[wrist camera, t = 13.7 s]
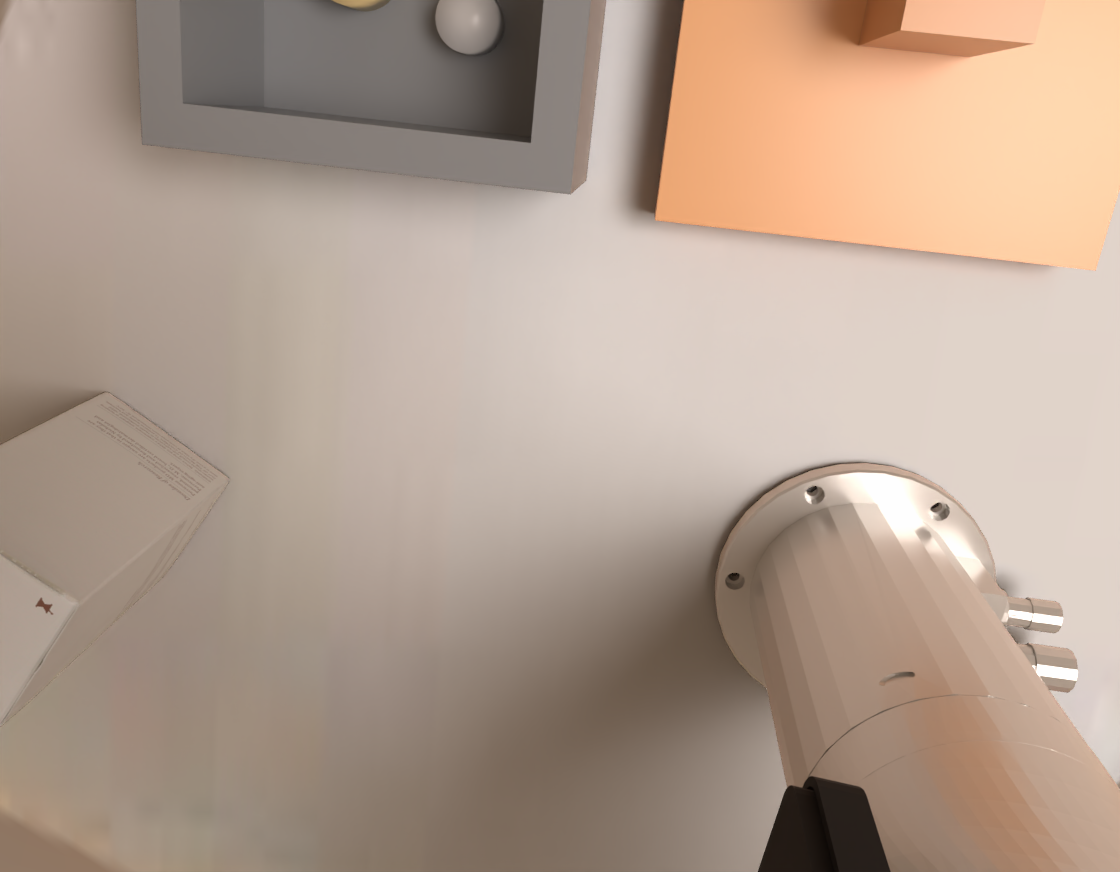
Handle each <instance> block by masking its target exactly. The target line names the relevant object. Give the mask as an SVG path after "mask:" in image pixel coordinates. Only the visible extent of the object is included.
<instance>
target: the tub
mask: <svg viewBox="0 0 1120 872" xmlns="http://www.w3.org/2000/svg"><path fill="white" fill-rule="evenodd" d="M605 6H606V0H136V16H137V39H138V61H139V84H140V106H141V129H142V144H143V145H151V146H160V147H168V148H177V149H186V150H194V151H203V152H211V153H220V154H229V155H237V156H246V157H254V158H263V159H271V160H280V161H289V162H297V163H306V164H314V165H323V166H332V167H340V168H349V169H357V170H366V171H374V172H383V173H392V174H400V175H409V176H417V177H426V178H435V179H443V180H452V181H460V182H469V183H478V184H486V185H495V186H503V187H512V188H520V189H529V190H538V191H546V192H555V193H563V194H571V193H573V192H574V191H575V190H576V189H577V188H578V187H579V186H580V185H582V184H583V183H584V182H585V181H586V178H587V169H588V160H589V151H590V142H591V133H592V124H593V115H594V105H595V96H596V87H597V78H598V69H599V60H600V51H601V42H602V33H603V24H604V15H605Z"/></svg>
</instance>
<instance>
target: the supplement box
mask: <svg viewBox="0 0 1120 872" xmlns="http://www.w3.org/2000/svg"><path fill="white" fill-rule="evenodd" d="M229 481H230V480H229V478H228V477H226V476H225V475H224V474H223V473H221V472H220V471H219V470H217V469H216V468H214V467H213V466H212V465H210V464H209V463H208V462H206V461H205V460H203V459H202V458H201V457H199V456H198V455H196V454H195V453H194V452H192V451H191V450H189V449H188V448H187V447H186V446H184V445H183V444H181V443H180V442H178V441H177V440H175V439H174V438H173V437H171V436H170V435H169V434H167V433H166V432H165V431H163V430H162V429H160V428H159V427H158V426H156V425H155V424H153V423H152V422H150V421H149V420H148V419H146V418H145V417H144V416H142V415H141V414H139V413H138V412H136V411H135V410H133V409H132V408H131V407H129V406H128V405H127V404H125V403H124V402H122V401H121V400H119V399H118V398H116V397H115V396H113V395H111V394H110V393H107V392H105V393H102V394H100V395H98V396H96V397H94V398H92V399H90V400H88V401H86V402H84V403H81V404H79V405H77V406H75V407H73V408H71V409H70V410H68V411H66V412H64V413H62V414H60V415H58V416H56V417H54V418H52V419H50V420H48V421H46V422H44V423H42V424H40V425H38V426H36V427H34V428H32V429H30V430H28V431H26V432H24V433H22V434H20V435H18V436H16V437H14V438H12V439H10V440H8V441H6V442H4V443H2V444H1V445H0V727H1V726H3V725H4V724H5V723H6V722H7V721H8V720H9V719H10V718H11V717H13V716H14V715H15V714H16V713H17V712H18V711H20V710H21V709H22V708H23V707H24V706H25V705H26V704H27V703H29V702H30V701H31V700H32V699H33V698H34V697H35V696H36V695H37V694H38V693H39V692H41V691H42V690H43V689H44V688H45V687H46V686H47V685H48V684H49V683H50V682H51V681H52V680H53V679H54V678H56V677H57V676H58V675H59V674H60V673H61V672H62V671H63V670H64V669H65V668H66V667H67V666H68V665H69V664H70V663H71V662H72V661H74V660H75V659H76V658H77V657H78V656H79V655H80V654H81V653H82V652H83V651H84V650H85V649H86V648H87V647H89V646H90V645H91V644H92V643H93V642H94V641H95V640H96V639H97V638H98V637H99V636H100V635H101V634H102V633H103V632H105V631H106V630H107V629H108V628H109V627H110V626H111V625H112V624H113V623H114V622H115V621H116V620H117V619H118V618H119V617H120V616H122V615H123V614H124V613H125V612H126V611H127V610H128V609H129V608H130V607H131V606H132V605H133V604H134V603H136V602H137V601H138V600H139V599H140V598H141V597H142V596H143V595H145V594H146V593H147V592H148V591H149V590H150V589H151V588H152V587H153V586H154V585H155V584H157V583H158V582H159V581H160V580H161V579H162V578H163V577H164V576H165V574H166V573H167V572H168V570H169V569H170V568H171V566H172V565H173V563H174V562H175V561H176V559H177V558H178V556H179V555H180V554H181V552H182V551H183V549H184V548H185V546H186V545H187V543H188V542H189V540H190V539H191V538H192V536H193V535H194V533H195V532H196V530H197V529H198V527H199V526H200V524H201V523H202V521H203V520H204V518H205V517H206V515H207V514H208V512H209V511H210V510H211V508H212V507H213V505H214V504H215V502H216V501H217V499H218V498H219V496H220V495H221V493H222V492H223V490H224V489H225V487H226V486H227V484H228V483H229Z"/></svg>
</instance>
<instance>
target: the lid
mask: <svg viewBox="0 0 1120 872" xmlns="http://www.w3.org/2000/svg"><path fill="white" fill-rule="evenodd" d="M1119 190H1120V0H683V7H682V14H681V22H680V29H679V37H678V44H677V52H676V59H675V67H674V74H673V82H672V89H671V97H670V104H669V112H668V119H667V127H666V134H665V141H664V149H663V156H662V164H661V171H660V179H659V186H658V194H657V201H656V209H655V220H657V221H666V222H675V223H684V224H692V225H701V226H710V227H719V228H727V229H736V230H745V231H754V232H762V233H771V234H780V235H789V236H797V237H806V238H815V239H824V240H832V241H841V242H850V243H859V244H867V245H876V246H885V247H894V248H902V249H911V250H920V251H929V252H937V253H946V254H955V255H964V256H972V257H981V258H990V259H999V260H1007V261H1016V262H1025V263H1034V264H1042V265H1051V266H1060V267H1069V268H1077V269H1086V270H1095V271H1096V267H1097V264H1098V260H1099V257H1100V254H1101V250H1102V247H1103V244H1104V240H1105V237H1106V233H1107V230H1108V227H1109V223H1110V220H1111V217H1112V213H1113V210H1114V206H1115V203H1116V200H1117V196H1118V193H1119Z"/></svg>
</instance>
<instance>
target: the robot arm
mask: <svg viewBox="0 0 1120 872" xmlns="http://www.w3.org/2000/svg"><path fill="white" fill-rule="evenodd" d="M811 486H817V488H816V490H815V491H814V492H808V491H806V490H807V489H808V488H810V487H811ZM936 503H939V505H938V506H937V507H936V508H931V507H932V506H933V505H934V504H936ZM731 573H738V575H736V576H730V575H729V574H731ZM715 601H716V607H717V615H718V620H719V623H720V626H721V629H722V633H723V636H724V639H725V641H726V642H727V644H728V646H729V648H730V649H731V651H732V653H733V655H734V657H735V658H736V660H737V661H738V662H739V663H740V664H741V665H742V666H743V668H744V669H745V670H746V671H747V672H748V673H749V674H750V676H752V677H753V678H754V679H755V680H757V681H758V682H759V683H760V684H761V685H763V686H764V687H765V688H767V692H768V697H769V702H770V707H771V712H772V716H773V721H774V726H775V731H776V736H777V741H778V746H779V751H780V755H781V760H782V765H783V770H784V775H785V780H786V785H787V789H786V791H785V793H784V796H783V799H782V802H781V805H780V808H779V811H778V814H777V817H776V820H775V823H774V826H773V828H772V831H771V834H770V837H769V840H768V843H767V846H766V849H765V852H764V855H763V858H762V861H761V864H760V867H759V870H758V872H1120V788H1119V787H1118V786H1117V784H1116V783H1115V781H1114V780H1113V779H1112V777H1111V776H1110V774H1109V773H1108V772H1107V770H1106V769H1105V767H1104V766H1103V765H1102V763H1101V762H1100V760H1099V759H1098V758H1097V756H1096V755H1095V753H1094V752H1093V751H1092V750H1091V748H1090V747H1089V746H1088V745H1087V743H1086V742H1085V740H1084V739H1083V737H1082V736H1081V735H1080V733H1079V732H1078V730H1077V729H1076V727H1075V726H1074V725H1073V723H1072V722H1071V720H1070V719H1069V718H1068V716H1067V715H1066V713H1065V712H1064V710H1063V709H1062V708H1061V706H1060V705H1059V703H1058V702H1057V700H1056V699H1055V698H1054V696H1053V695H1052V693H1051V692H1050V690H1053V691H1060V692H1067V693H1068V692H1070V691H1071V690H1072V689H1073V688H1074V686H1075V683H1076V681H1077V674H1078V667H1077V660H1076V658H1075V656H1074V653H1073V652H1072V651H1071V650H1069V649H1067V648H1060V647H1053V646H1046V645H1039V644H1031V643H1027V644H1024V645H1023V644H1016V642H1015V641H1014V639H1013V638H1012V636H1011V635H1010V634H1009V632H1008V631H1007V629H1006V628H1005V625H1009V626H1016V627H1023V628H1024V629H1027V630H1034V631H1041V632H1048V633H1056V632H1058V631H1059V630H1060V628H1061V626H1062V621H1063V612H1062V608H1061V606H1060V604H1059V603H1058V602H1056V601H1048V600H1041V599H1034V598H1025V599H1023V598H1015V597H1008V596H1007V593H1006V592H1005V591H1004V590H1002V589H1000V587H999V586H998V585H997V583H996V573H995V563H994V560H993V557H992V554H991V551H990V548H989V545H988V542H987V540H986V538H985V537H984V535H983V533H982V532H981V530H980V528H979V527H978V525H977V523H976V522H975V520H974V519H973V518H972V516H971V515H970V514H969V513H968V512H967V511H966V509H965V508H964V507H963V506H962V505H961V503H959V502H958V501H957V500H956V499H955V498H954V497H952V496H951V495H950V494H949V493H948V492H946V491H945V490H944V489H943V488H942V487H940V486H938V485H936V484H935V483H933V482H931V481H929V480H927V479H925V478H924V477H922V476H920V475H918V474H915V473H912V472H909V471H905V470H902V469H899V468H896V467H893V466H885V465H877V464H870V463H855V464H838V465H833V466H828V467H824V468H819V469H815V470H811V471H809V472H806V473H804V474H801V475H799V476H796V477H794V478H791V479H789V480H787V481H785V482H784V483H782V484H780V485H779V486H777V487H776V488H774V489H772V490H771V491H769V492H768V493H766V494H765V495H763V496H762V497H761V498H760V499H759V500H758V501H757V502H756V503H755V504H754V505H753V506H751V507H750V508H749V509H748V510H747V511H746V512H745V513H744V515H743V516H742V517H741V519H740V520H739V521H738V523H737V524H736V526H735V527H734V528H733V530H732V531H731V533H730V535H729V537H728V539H727V541H726V543H725V545H724V547H723V550H722V552H721V554H720V559H719V563H718V567H717V571H716V576H715Z"/></svg>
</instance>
